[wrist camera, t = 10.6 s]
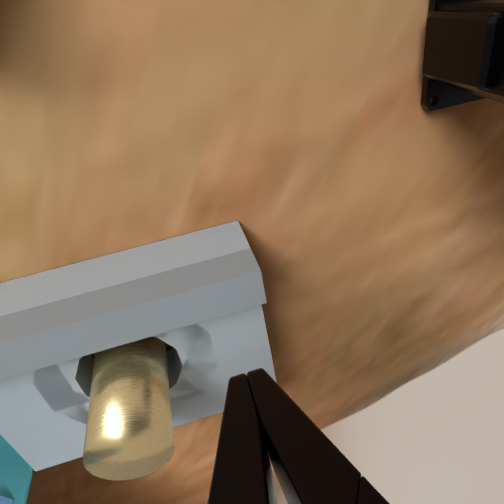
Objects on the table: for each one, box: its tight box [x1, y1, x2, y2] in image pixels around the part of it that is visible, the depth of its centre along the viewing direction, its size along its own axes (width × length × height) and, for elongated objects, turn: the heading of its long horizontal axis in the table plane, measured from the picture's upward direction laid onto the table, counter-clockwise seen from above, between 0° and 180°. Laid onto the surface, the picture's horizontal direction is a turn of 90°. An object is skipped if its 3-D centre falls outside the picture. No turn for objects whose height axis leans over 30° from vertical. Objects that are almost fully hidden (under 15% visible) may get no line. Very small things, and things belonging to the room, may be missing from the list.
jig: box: [0, 221, 277, 472], centre depth 23 cm, size 16×12×5 cm
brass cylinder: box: [83, 336, 174, 480], centre depth 21 cm, size 4×4×8 cm
